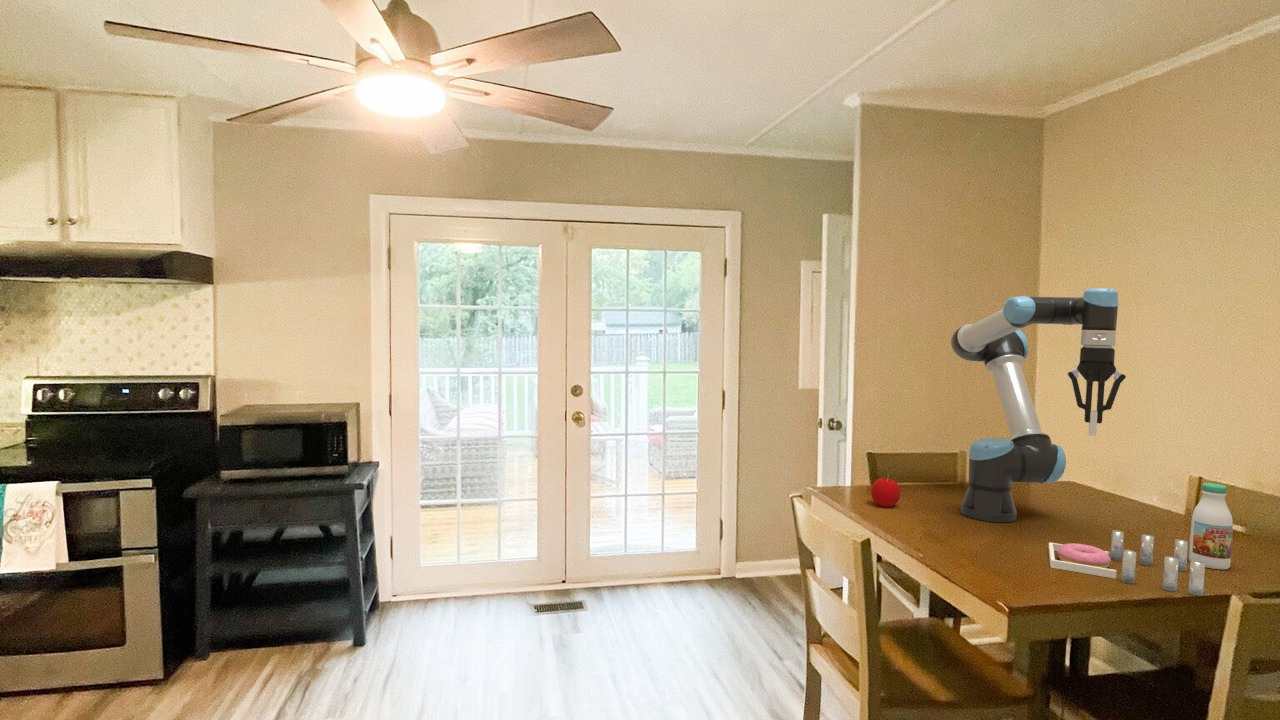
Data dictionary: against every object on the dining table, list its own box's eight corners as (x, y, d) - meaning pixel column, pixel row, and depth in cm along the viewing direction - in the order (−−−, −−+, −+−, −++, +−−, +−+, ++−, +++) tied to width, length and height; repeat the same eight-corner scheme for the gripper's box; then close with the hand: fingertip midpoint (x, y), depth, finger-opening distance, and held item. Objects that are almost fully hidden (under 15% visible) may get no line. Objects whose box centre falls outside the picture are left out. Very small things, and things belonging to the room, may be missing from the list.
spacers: (1119, 581, 149) (1121, 551, 149) (1109, 556, 166) (1111, 529, 165) (1204, 596, 142) (1206, 564, 141) (1185, 568, 158) (1187, 540, 158)
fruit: (904, 509, 206) (906, 478, 205) (875, 509, 206) (877, 477, 205) (893, 501, 215) (895, 471, 215) (866, 501, 215) (867, 471, 215)
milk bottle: (1180, 559, 165) (1185, 480, 164) (1208, 559, 166) (1213, 480, 165) (1209, 570, 158) (1215, 488, 156) (1239, 570, 158) (1244, 488, 157)
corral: (1050, 567, 157) (1051, 560, 157) (1048, 549, 171) (1048, 542, 171) (1116, 578, 151) (1116, 571, 151) (1108, 558, 164) (1109, 551, 164)
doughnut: (1046, 559, 164) (1047, 543, 163) (1075, 554, 168) (1076, 538, 168) (1091, 575, 154) (1092, 557, 153) (1120, 569, 158) (1121, 552, 158)
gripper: (1069, 346, 174) (1064, 434, 175) (1130, 348, 167) (1124, 439, 169) (1067, 345, 180) (1062, 430, 182) (1126, 347, 174) (1120, 435, 175)
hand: (1092, 435), depth 175 cm, fingers closed
